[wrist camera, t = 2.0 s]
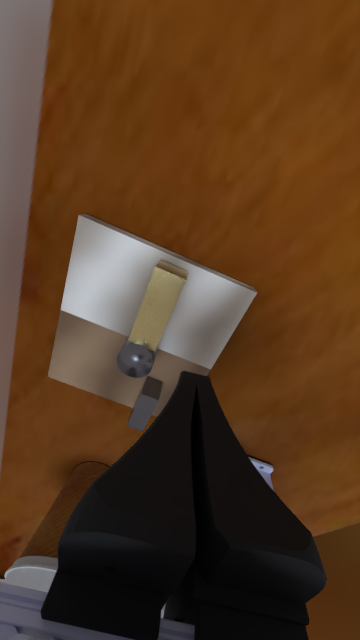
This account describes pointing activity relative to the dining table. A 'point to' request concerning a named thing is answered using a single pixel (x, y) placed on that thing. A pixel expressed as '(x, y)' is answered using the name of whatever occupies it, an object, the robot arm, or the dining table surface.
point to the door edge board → (122, 309)
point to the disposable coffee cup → (52, 532)
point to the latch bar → (151, 320)
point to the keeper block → (145, 403)
